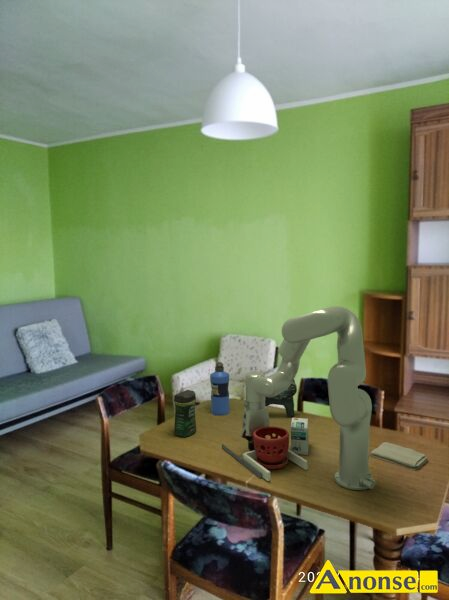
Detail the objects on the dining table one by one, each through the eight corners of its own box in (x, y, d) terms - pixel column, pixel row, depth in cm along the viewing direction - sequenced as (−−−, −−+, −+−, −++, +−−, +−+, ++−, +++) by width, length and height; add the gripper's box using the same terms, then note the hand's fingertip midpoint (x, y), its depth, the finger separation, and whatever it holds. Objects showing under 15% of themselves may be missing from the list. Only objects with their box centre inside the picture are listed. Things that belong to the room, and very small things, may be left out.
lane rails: (303, 465, 160) (303, 461, 160) (260, 478, 151) (260, 474, 151) (261, 438, 184) (261, 434, 184) (221, 448, 175) (221, 444, 175)
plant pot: (290, 457, 167) (290, 426, 166) (287, 473, 154) (287, 441, 153) (256, 453, 170) (256, 423, 169) (250, 469, 157) (250, 437, 156)
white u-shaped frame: (307, 469, 157) (307, 453, 156) (267, 481, 149) (267, 464, 148) (271, 445, 176) (271, 431, 176) (234, 455, 168) (234, 440, 168)
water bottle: (221, 407, 222) (220, 359, 220) (233, 412, 215) (233, 362, 213) (206, 412, 216) (206, 362, 214) (218, 417, 209) (218, 365, 207)
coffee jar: (186, 439, 185) (185, 396, 183) (171, 435, 189) (170, 393, 187) (199, 431, 193) (198, 390, 191) (185, 427, 197) (184, 387, 195)
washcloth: (417, 473, 155) (417, 464, 154) (368, 457, 167) (368, 449, 167) (429, 461, 163) (429, 453, 163) (382, 447, 176) (382, 439, 175)
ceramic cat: (296, 414, 212) (296, 373, 210) (298, 419, 205) (298, 377, 203) (254, 414, 212) (254, 374, 210) (255, 419, 206) (255, 377, 204)
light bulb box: (308, 455, 168) (308, 428, 167) (290, 454, 170) (290, 427, 168) (308, 443, 179) (308, 418, 178) (291, 442, 180) (291, 417, 179)
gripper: (242, 411, 162) (242, 458, 164) (278, 403, 170) (278, 449, 172) (232, 405, 168) (232, 451, 170) (267, 398, 176) (267, 442, 178)
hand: (255, 449), depth 171 cm, fingers closed on white u-shaped frame, 3 cm apart
